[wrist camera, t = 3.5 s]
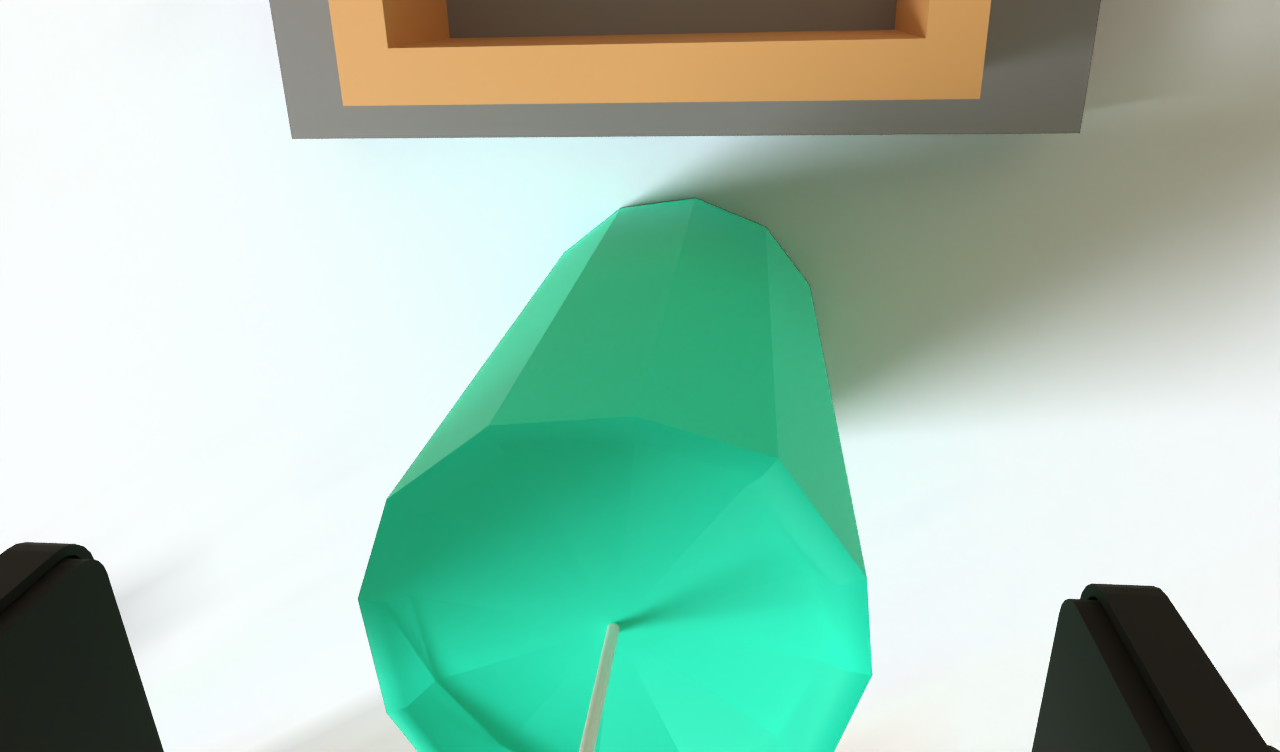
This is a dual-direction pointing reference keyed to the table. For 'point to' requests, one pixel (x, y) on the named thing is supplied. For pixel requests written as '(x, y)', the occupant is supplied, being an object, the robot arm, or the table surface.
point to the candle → (632, 516)
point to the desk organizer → (682, 67)
